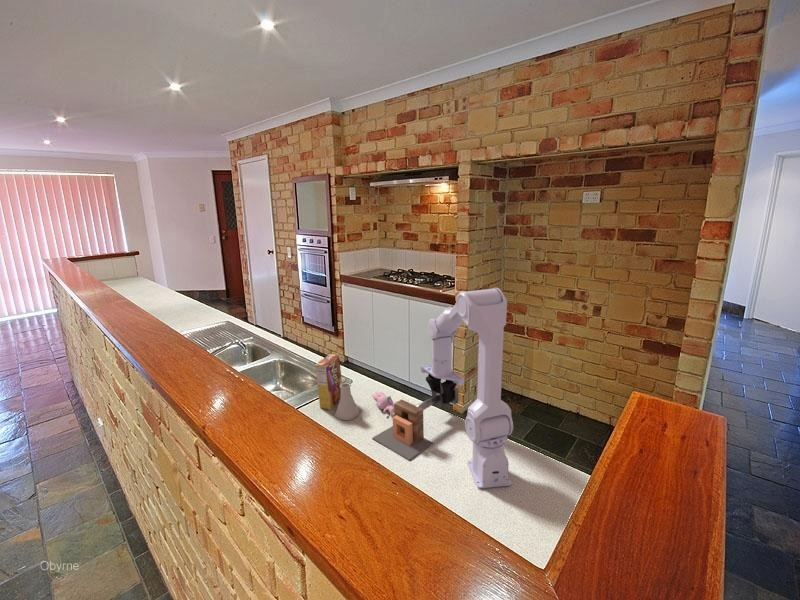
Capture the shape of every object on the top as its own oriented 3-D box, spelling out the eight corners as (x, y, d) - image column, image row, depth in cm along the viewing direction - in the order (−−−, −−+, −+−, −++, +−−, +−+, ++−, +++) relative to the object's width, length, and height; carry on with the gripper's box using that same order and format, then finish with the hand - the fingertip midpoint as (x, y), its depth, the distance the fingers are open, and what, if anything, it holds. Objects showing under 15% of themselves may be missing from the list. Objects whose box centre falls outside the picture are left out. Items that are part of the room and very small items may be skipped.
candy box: (332, 395, 134) (329, 353, 130) (343, 397, 132) (340, 354, 129) (318, 408, 126) (314, 363, 122) (330, 410, 124) (326, 365, 120)
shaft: (418, 427, 105) (417, 412, 104) (399, 418, 110) (399, 403, 109) (458, 402, 117) (458, 388, 116) (440, 395, 122) (439, 381, 121)
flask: (330, 417, 120) (328, 387, 117) (344, 406, 126) (342, 378, 124) (350, 423, 116) (348, 392, 114) (363, 411, 123) (361, 382, 120)
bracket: (416, 444, 105) (415, 413, 102) (395, 432, 110) (394, 403, 108) (423, 439, 107) (423, 409, 104) (402, 428, 112) (401, 399, 110)
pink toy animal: (408, 419, 120) (381, 394, 131) (409, 403, 118) (382, 379, 129) (391, 426, 116) (365, 400, 127) (392, 410, 114) (365, 385, 125)
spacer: (409, 445, 104) (408, 425, 103) (393, 436, 108) (392, 417, 107) (412, 443, 105) (412, 423, 104) (397, 434, 109) (396, 415, 108)
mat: (409, 460, 98) (409, 459, 98) (372, 439, 108) (372, 437, 108) (433, 444, 105) (433, 442, 105) (396, 424, 115) (396, 423, 115)
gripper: (470, 360, 112) (469, 403, 115) (431, 348, 122) (431, 388, 125) (455, 367, 107) (455, 412, 110) (416, 354, 117) (417, 396, 120)
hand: (441, 400), depth 117 cm, fingers closed on shaft, 3 cm apart
